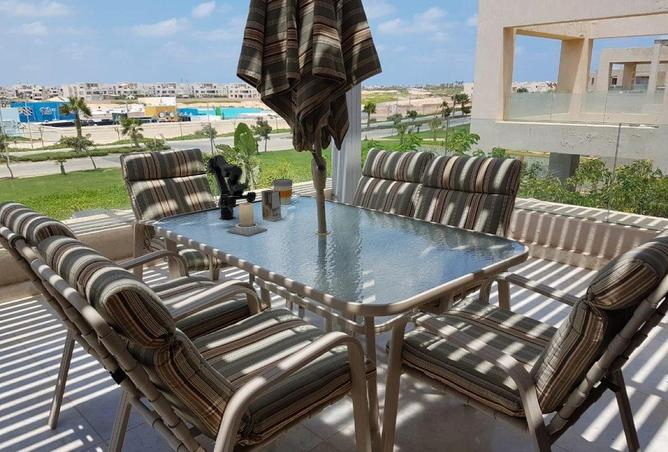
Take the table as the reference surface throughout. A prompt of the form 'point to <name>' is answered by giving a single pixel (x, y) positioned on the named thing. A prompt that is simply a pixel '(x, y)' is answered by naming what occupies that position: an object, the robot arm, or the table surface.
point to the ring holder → (246, 230)
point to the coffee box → (271, 205)
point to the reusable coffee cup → (283, 189)
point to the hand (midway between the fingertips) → (241, 211)
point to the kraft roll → (246, 215)
